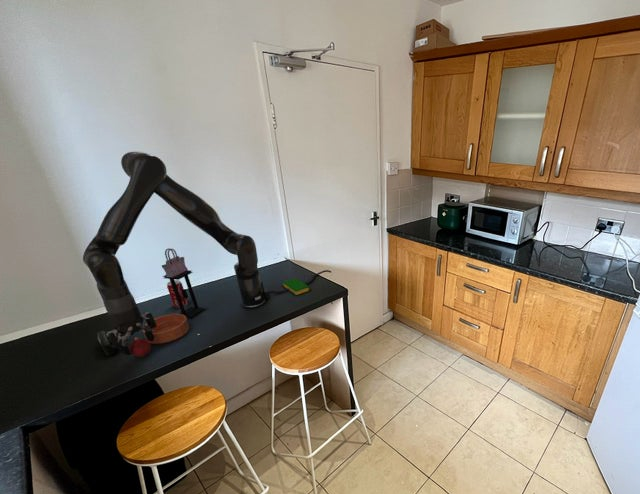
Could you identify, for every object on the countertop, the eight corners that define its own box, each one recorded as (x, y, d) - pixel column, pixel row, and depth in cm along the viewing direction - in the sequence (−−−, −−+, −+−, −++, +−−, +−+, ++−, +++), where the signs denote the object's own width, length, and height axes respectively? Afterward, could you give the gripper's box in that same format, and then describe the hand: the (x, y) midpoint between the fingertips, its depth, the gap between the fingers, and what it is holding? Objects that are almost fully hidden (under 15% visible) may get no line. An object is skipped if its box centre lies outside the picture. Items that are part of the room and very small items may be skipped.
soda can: (175, 309, 141) (166, 285, 135) (173, 304, 144) (164, 281, 139) (189, 305, 144) (181, 282, 139) (187, 301, 148) (179, 278, 142)
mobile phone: (112, 343, 111) (103, 326, 119) (101, 347, 109) (93, 329, 117) (118, 354, 113) (108, 337, 122) (107, 358, 111) (98, 340, 120)
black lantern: (189, 320, 133) (166, 254, 120) (174, 318, 134) (149, 252, 121) (207, 307, 142) (187, 245, 129) (193, 306, 143) (172, 243, 130)
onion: (158, 352, 113) (150, 334, 110) (141, 363, 108) (133, 344, 105) (146, 349, 115) (138, 331, 112) (130, 359, 110) (121, 340, 107)
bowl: (171, 321, 132) (167, 311, 130) (198, 327, 128) (194, 316, 126) (137, 341, 120) (132, 330, 117) (166, 347, 116) (161, 336, 114)
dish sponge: (296, 282, 166) (295, 277, 165) (309, 290, 157) (308, 286, 156) (283, 286, 162) (282, 282, 161) (296, 295, 153) (295, 290, 152)
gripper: (106, 320, 96) (126, 362, 103) (151, 298, 108) (167, 337, 115) (89, 316, 97) (110, 357, 105) (135, 295, 110) (151, 333, 117)
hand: (140, 347), depth 110 cm, fingers open, 7 cm apart
